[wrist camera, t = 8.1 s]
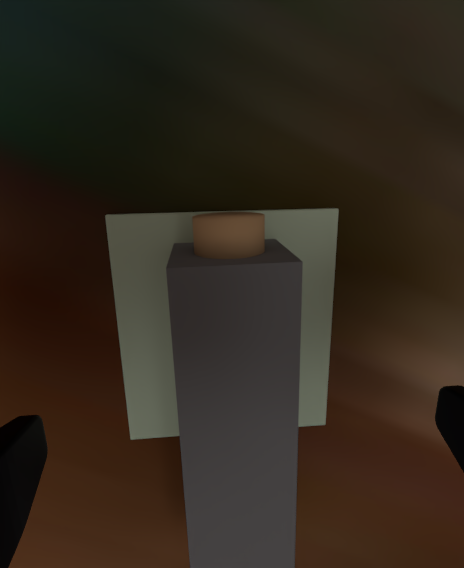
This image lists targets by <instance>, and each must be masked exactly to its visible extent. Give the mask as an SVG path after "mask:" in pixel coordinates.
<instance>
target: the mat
mask: <svg viewBox="0 0 464 568" xmlns="http://www.w3.org/2000/svg"><path fill="white" fill-rule="evenodd" d="M218 212H254V213H261V214H264V215H265V239H276V240H277V241H279V242H280V243H281V244H282V245H283V246H285V247H286V248H287V249H288V250H289V251H291V252H292V253H293V254H294V255H295V256H297V257H298V258H299V259H300V260H301V261H303V269H302V307H301V344H300V382H299V420H298V427H302V426H315V425H325V423H326V406H327V390H328V374H329V358H330V342H331V326H332V309H333V293H334V277H335V261H336V245H337V229H338V212H339V209H337V208H317V209H282V210H246V211H210V212H174V213H138V214H107V215H105V219H106V228H107V237H108V246H109V255H110V263H111V272H112V281H113V290H114V298H115V307H116V316H117V325H118V333H119V342H120V351H121V360H122V368H123V377H124V386H125V395H126V403H127V412H128V421H129V430H130V439H131V440H133V439H146V438H159V437H172V436H180V435H179V423H178V410H177V398H176V386H175V373H174V361H173V349H172V336H171V324H170V312H169V299H168V287H167V275H166V267H167V264H168V260H169V257H170V254H171V251H172V248H173V244H174V243H192V242H194V239H193V222H192V217H193V216H195V215H200V214H207V213H218Z"/></svg>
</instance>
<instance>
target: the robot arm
mask: <svg viewBox="0 0 464 568" xmlns="http://www.w3.org/2000/svg"><path fill="white" fill-rule="evenodd" d="M435 421H436V425H437V427H438V429H439V431H440V433H441V435H442V436H443V438H444V440H445V441H446V443H447V445H448V446H449V448H450V450H451V452H452V453H453V455H454V457H455V458H456V460H457V462H458V463H459V465H460V467H461V469H462V470H463V472H464V387H463V386H458V385H457V386H445V387H443V388H441V389H440V391H439V396H438V402H437V408H436V414H435ZM46 458H47V442H46V437H45V432H44V427H43V422H42V419H41V417H40V416H38V415H28V416H19V417H17V418H15V419H13V420H12V421H10V422H9V423H7V424H5V425H4V426H2V427H0V568H8V567H9V565H10V562H11V560H12V558H13V555H14V553H15V551H16V548H17V546H18V543H19V541H20V538H21V536H22V534H23V531H24V528H25V525H26V522H27V519H28V516H29V513H30V510H31V506H32V503H33V500H34V497H35V494H36V490H37V487H38V484H39V481H40V478H41V474H42V471H43V468H44V465H45V462H46Z"/></svg>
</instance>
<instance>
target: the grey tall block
mask: <svg viewBox="0 0 464 568" xmlns="http://www.w3.org/2000/svg"><path fill="white" fill-rule="evenodd" d="M192 222H193V239H194V242H192V243H174V244H173V248H172V251H171V254H170V257H169V260H168V264H167V267H166V275H167V287H168V299H169V312H170V324H171V336H172V349H173V361H174V373H175V386H176V398H177V410H178V423H179V435H180V447H181V460H182V472H183V484H184V497H185V509H186V521H187V534H188V546H189V558H190V568H295V533H296V495H297V457H298V420H299V382H300V344H301V307H302V269H303V261H301V260H300V259H299V258H298V257H297V256H295V255H294V254H293V253H292V252H291V251H289V250H288V249H287V248H286V247H285V246H283V245H282V244H281V243H280V242H279V241H277V240H276V239H265V215H264V214H261V213H254V212H218V213H207V214H200V215H195V216H193V217H192Z"/></svg>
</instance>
